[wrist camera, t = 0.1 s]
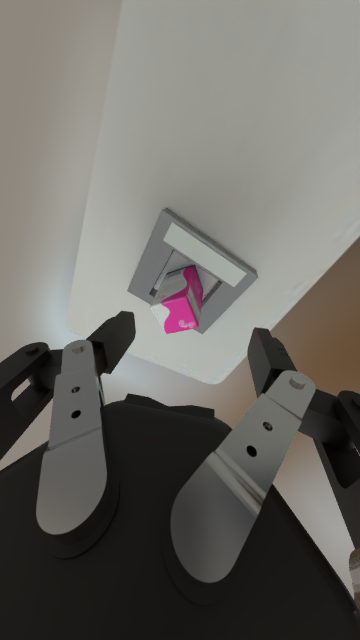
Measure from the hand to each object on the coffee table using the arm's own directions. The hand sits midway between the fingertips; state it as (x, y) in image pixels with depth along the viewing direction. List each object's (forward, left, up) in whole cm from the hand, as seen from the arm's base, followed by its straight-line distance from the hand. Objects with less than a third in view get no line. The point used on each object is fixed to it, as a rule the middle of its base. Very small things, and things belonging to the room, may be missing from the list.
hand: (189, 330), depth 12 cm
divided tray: (+8, +1, -23) cm, 24 cm away
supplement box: (+8, +1, -23) cm, 24 cm away
